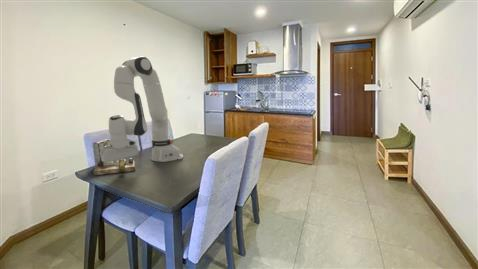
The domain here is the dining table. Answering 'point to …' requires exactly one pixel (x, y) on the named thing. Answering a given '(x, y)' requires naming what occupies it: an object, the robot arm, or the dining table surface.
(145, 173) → the dining table surface
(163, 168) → the dining table surface
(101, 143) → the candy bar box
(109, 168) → the tong rest
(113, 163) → the tong arm
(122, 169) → the brass pin
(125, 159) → the tong frame
